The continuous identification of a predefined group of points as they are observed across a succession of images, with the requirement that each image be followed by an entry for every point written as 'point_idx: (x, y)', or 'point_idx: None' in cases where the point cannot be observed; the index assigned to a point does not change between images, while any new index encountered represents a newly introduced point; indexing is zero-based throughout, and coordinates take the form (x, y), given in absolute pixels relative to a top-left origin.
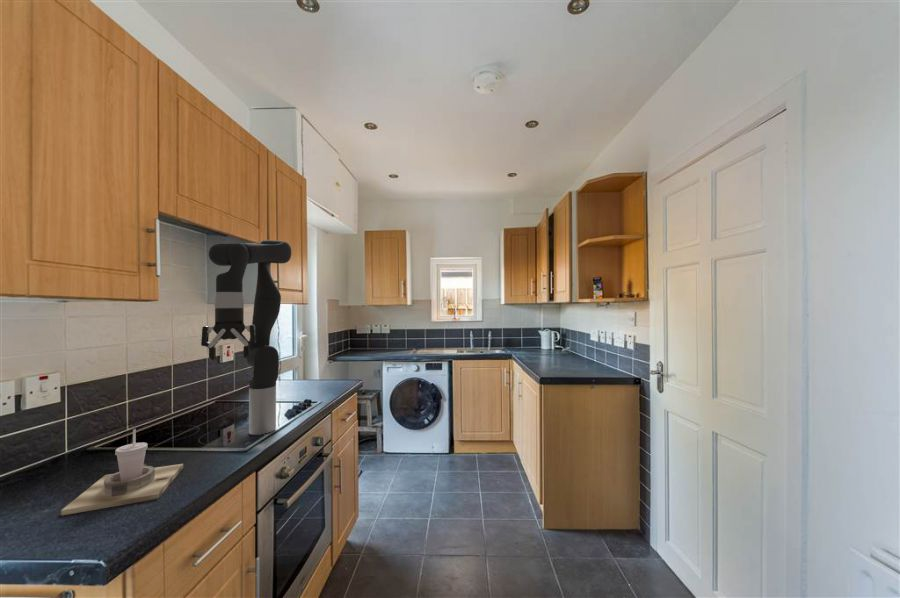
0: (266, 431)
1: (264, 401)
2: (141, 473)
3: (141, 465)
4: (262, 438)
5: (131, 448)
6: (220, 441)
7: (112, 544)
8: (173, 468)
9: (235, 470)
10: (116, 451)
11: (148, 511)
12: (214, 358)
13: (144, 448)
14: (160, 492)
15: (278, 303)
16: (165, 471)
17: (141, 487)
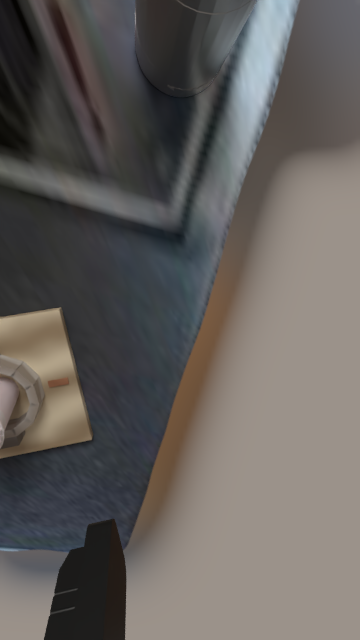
0: (203, 87)
1: (227, 25)
2: (14, 396)
3: (10, 411)
4: (198, 134)
5: None
6: (68, 120)
7: None
8: (51, 334)
9: (191, 347)
10: None
11: (103, 468)
12: (121, 563)
13: (2, 437)
14: (89, 427)
15: None
16: (41, 345)
17: (40, 411)
